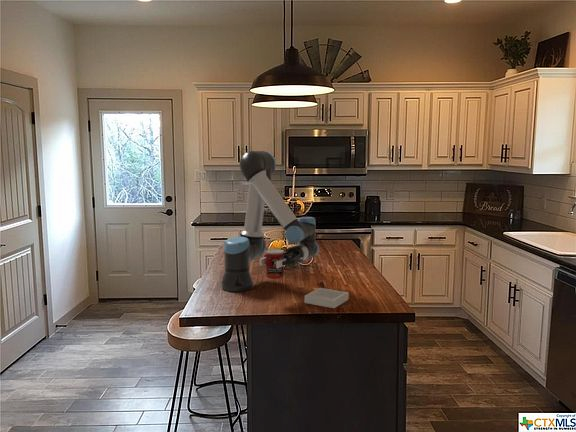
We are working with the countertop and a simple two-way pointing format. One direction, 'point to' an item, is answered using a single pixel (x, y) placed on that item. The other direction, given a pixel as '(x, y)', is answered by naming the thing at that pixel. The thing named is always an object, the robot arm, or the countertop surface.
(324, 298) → the tray
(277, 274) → the canned food
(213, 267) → the countertop surface
